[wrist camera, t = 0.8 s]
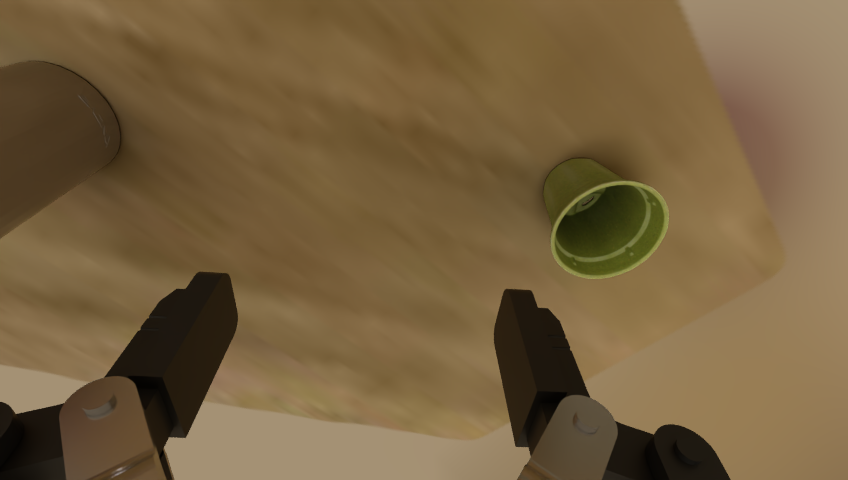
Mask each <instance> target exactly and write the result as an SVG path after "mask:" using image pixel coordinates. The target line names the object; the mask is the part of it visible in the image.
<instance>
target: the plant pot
mask: <svg viewBox="0 0 848 480" xmlns="http://www.w3.org/2000/svg"><path fill="white" fill-rule="evenodd" d="M592 196H593V199H592V200H591V201H590V202H589V203H587V204H586V205H582V204H583V203H584V202H586V201H588V200H589V199H590V198H591V197H592ZM543 197H544V201H545V204H546V208H547V211H548V214H549V218H550V221H551V225H552V230H551V235H550V247H551V251H552V254H553V257H554V258H555V260H556V262H557V263H558V264H559V265H560V266H561V267H562V268H563V269H564V270H566V271H567V272H569V273H571V274H573V275H575V276H579V277H582V278H589V279H602V278H609V277H613V276H617V275H620V274H622V273H625V272H627V271H630V270H632V269H633V268H635V267H637V266H638V265H640V264H641V263H643V262H644V261H645V260H646V259H648V258H649V257H650V256H651V255H652V254H653V252H654V251H655V250H656V249H657V248H658V246H659V245H660V244H661V242H662V240H663V238H664V236H665V234H666V231H667V228H668V223H669V211H668V207H667V204H666V202H665V200H664V199H663V197H662V196H661V195H660V194H659V193H658V192H657V191H656V190H655V189H653V188H652V187H650V186H648V185H646V184H644V183H641V182H637V181H632V180H625V179H623V178H621V177H620V176H618V175H616V174H615V173H613V172H611V171H610V170H608V169H607V168H605V167H604V166H602V165H601V164H599V163H597V162H596V161H594V160H592V159H585V158H582V159H570V160H567V161H565V162H563V163H561V164H560V165H558V166H557V167H556V168H555V169H553V170H552V172H551V173H550V174H549V175H548V177H547V179H546V181H545V185H544V191H543Z"/></svg>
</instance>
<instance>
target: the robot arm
mask: <svg viewBox="0 0 848 480" xmlns="http://www.w3.org/2000/svg"><path fill="white" fill-rule="evenodd" d="M119 146H120V131H119V125H118V122H117V120H116V117H115V115H114V113H113V111H112V110H111V108H110V106H109V105H108V103H107V102H106V100H105V99H104V98H103V97H102V96H101V95H100V94H99V92H98V91H97V90H96V89H95V88H93V87H92V86H91V85H90V84H89V83H88V82H86V81H85V80H84V79H82V78H81V77H79V76H77V75H76V74H74V73H73V72H71V71H68V70H66V69H64V68H62V67H60V66H57V65H53V64H49V63H46V62H37V61H27V62H20V63H15V64H12V65H8V66H4V67H0V238H2V237H3V236H5V235H6V234H8V233H9V232H10V231H12V230H13V229H15V228H16V227H18V226H19V225H20V224H22V223H23V222H25V221H26V220H28V219H29V218H31V217H32V216H33V215H35V214H36V213H38V212H39V211H41V210H42V209H43V208H45V207H46V206H48V205H49V204H51V203H52V202H54V201H55V200H56V199H58V198H59V197H61V196H62V195H64V194H65V193H66V192H68V191H69V190H71V189H72V188H74V187H75V186H77V185H78V184H80V183H81V182H83V181H84V180H85V179H87V178H88V177H90V176H91V175H92V174H94V173H95V172H97V171H98V170H99V169H101V168H102V167H104V166H105V165H107V164H108V163H109V162H111V161H112V159H113V158H114V157H115V156H116V154H117V152H118V149H119ZM237 321H238V313H237V308H236V303H235V298H234V293H233V288H232V284H231V279H230V276H229V275H228V274H227V273H213V272H198V273H197V274H196V275H195V276H194V278H193V279H192V281H191V282H190V284H189V285H188V286H187V288H186V289H176V290H174V291H173V292H172V293H170V294H169V295H168V296H166V297H165V298H163V299H162V300H161V301H160V302H159V303H158V304H157V306H156V307H155V308H154V310H153V311H152V313H151V314H150V315H149V319H146V321H145V322H144V324H143V325H142V326H141V330H140V331H138V332H137V333H136V335H135V336H134V337H133V339H132V340H131V341H130V343H129V344H128V346H127V347H126V348H125V350H124V351H123V352H122V354H121V355H120V357H119V358H118V359H117V361H116V362H115V364H114V365H113V366H112V368H111V369H110V370H109V372H108V373H107V375H106V376H105V377H104V378H101V379H98V380H95V381H93V382H90V383H88V384H86V385H85V386H83V387H82V388H80V389H78V390H77V391H76V392H75V393H73V394H72V395H71V396H70V397H69V398H68V399H67V400H66V402H65V403H63V404H60V405H56V406H51V407H47V408H42V409H37V410H33V411H28V412H24V413H19V414H15V412H14V411H13V410H12V408H11V407H10V406H9V405H7V404H6V403H3V402H0V480H174V477H173V474H172V471H171V467H170V464H169V460H168V457H167V454H166V452H165V449H164V446H165V444H166V442H167V440H168V438H169V437H178V438H186V436H187V434H188V432H189V430H190V428H191V426H192V423H193V421H194V419H195V417H196V415H197V413H198V411H199V409H200V406H201V404H202V402H203V400H204V398H205V396H206V394H207V392H208V389H209V387H210V385H211V383H212V381H213V379H214V377H215V375H216V372H217V370H218V368H219V366H220V364H221V362H222V360H223V357H224V355H225V353H226V351H227V349H228V347H229V345H230V342H231V340H232V338H233V336H234V334H235V331H236V327H237ZM494 345H495V350H496V355H497V359H498V364H499V369H500V374H501V379H502V383H503V388H504V393H505V398H506V403H507V408H508V412H509V417H510V422H511V426H512V431H513V436H514V441H515V446H516V447H529V451H530V455H531V458H530V460H529V461H528V463H527V465H525V466H524V468H523V470H522V472H521V473H520V475H519V477H518V479H517V480H730V478H729V476H728V474H727V472H726V470H725V469H724V467H723V465H722V463H721V462H720V460H719V458H718V456H717V454H716V453H715V451H714V450H713V448H712V447H711V446H710V445H709V444H708V443H707V442H706V441H705V440H704V439H703V438H702V437H700V436H699V435H698V434H696V433H695V432H693V431H691V430H689V429H687V428H685V427H682V426H679V425H671V424H670V425H664V426H661V427H660V428H658V430H657V431H656V432H655V434H654V435H653V434H650V433H647V432H644V431H641V430H638V429H635V428H632V427H629V426H626V425H624V424H621V423H618V422H616V421H615V420H614V418H613V416H612V415H611V413H610V412H609V411H608V410H607V409H606V408H605V407H604V406H603V405H601V404H600V403H599V402H597V401H596V400H593V399H592V398H590V396H589V394H588V391H587V389H586V387H585V384H584V381H583V379H582V376H581V374H580V371H579V369H578V366H577V364H576V361H575V359H574V356H573V354H572V351H570V346H569V344H568V341H567V339H565V333H564V331H563V328H562V326H561V323H560V321H559V320H558V319H557V318H556V317H555V316H554V315H553V314H552V312H551V311H550V310H549V309H548V308H538V307H537V304H536V301H535V298H534V295H533V293H532V291H531V290H518V289H505V291H504V293H503V296H502V300H501V304H500V308H499V312H498V315H497V319H496V323H495V328H494Z"/></svg>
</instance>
